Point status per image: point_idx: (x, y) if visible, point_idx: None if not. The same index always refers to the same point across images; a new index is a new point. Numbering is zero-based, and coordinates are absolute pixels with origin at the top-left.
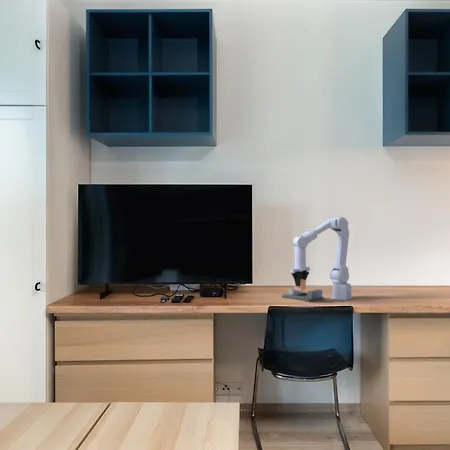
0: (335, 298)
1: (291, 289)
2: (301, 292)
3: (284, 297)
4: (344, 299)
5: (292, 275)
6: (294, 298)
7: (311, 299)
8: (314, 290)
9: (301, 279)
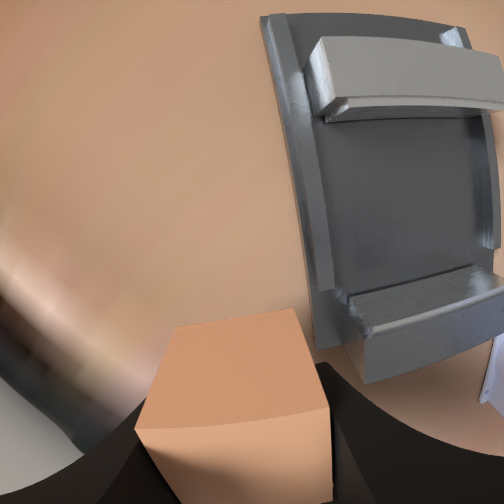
0: (493, 356)
1: (332, 82)
2: (457, 114)
3: (266, 49)
4: (484, 400)
5: (20, 495)
6: (291, 169)
7: (342, 344)
8: (459, 324)
9: (295, 470)
